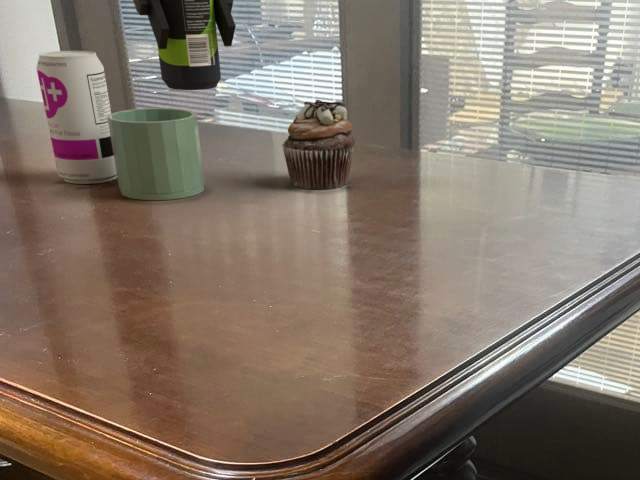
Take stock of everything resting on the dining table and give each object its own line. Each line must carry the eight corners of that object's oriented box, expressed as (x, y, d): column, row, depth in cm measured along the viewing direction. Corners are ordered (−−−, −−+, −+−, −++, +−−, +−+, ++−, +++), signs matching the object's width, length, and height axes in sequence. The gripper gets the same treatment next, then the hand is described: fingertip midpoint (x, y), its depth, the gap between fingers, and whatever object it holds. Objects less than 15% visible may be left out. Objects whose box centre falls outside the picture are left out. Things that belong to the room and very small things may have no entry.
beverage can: (228, 83, 97) (212, -84, 88) (212, 91, 92) (194, -85, 83) (173, 82, 97) (152, -84, 88) (154, 90, 92) (131, -86, 83)
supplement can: (76, 188, 115) (50, 58, 107) (49, 177, 120) (23, 53, 112) (132, 178, 120) (112, 54, 111) (104, 168, 125) (83, 48, 116)
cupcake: (301, 172, 124) (296, 93, 118) (365, 177, 121) (364, 97, 116) (272, 187, 116) (266, 104, 111) (340, 193, 114) (337, 108, 108)
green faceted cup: (102, 195, 112) (89, 118, 107) (152, 178, 120) (141, 105, 115) (174, 203, 109) (164, 124, 104) (220, 185, 117) (212, 111, 112)
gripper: (31, -198, 84) (103, 11, 82) (222, -185, 92) (293, 6, 89) (34, -127, 91) (100, 69, 88) (211, -120, 99) (277, 60, 96)
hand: (197, 37), depth 89 cm, fingers closed on beverage can, 6 cm apart
